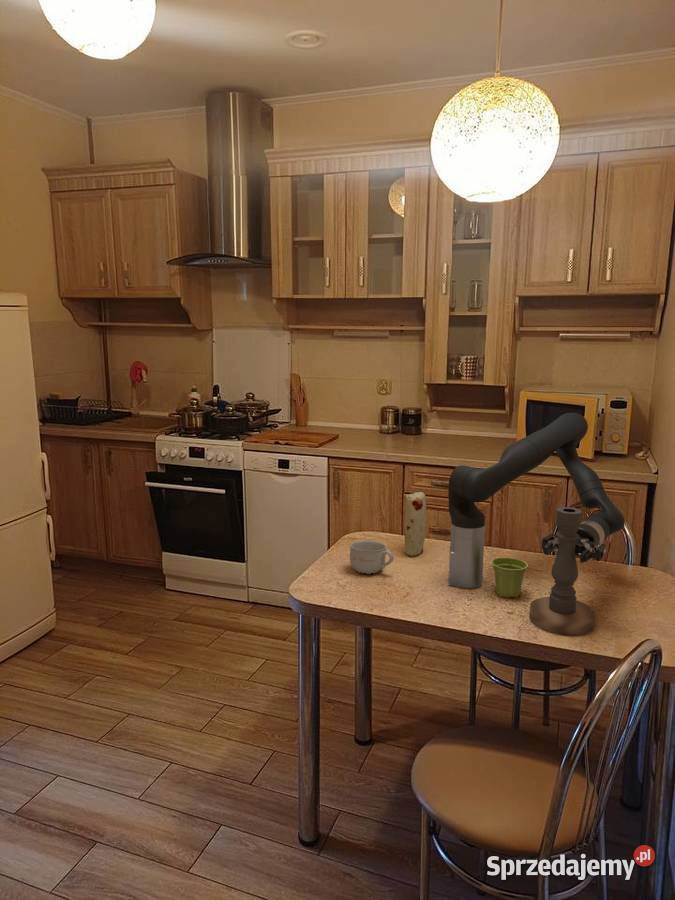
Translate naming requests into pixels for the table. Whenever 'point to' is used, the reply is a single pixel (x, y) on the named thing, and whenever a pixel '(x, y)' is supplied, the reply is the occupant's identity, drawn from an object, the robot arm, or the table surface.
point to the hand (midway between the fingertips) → (563, 554)
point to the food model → (415, 523)
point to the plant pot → (508, 575)
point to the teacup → (369, 556)
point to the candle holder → (565, 562)
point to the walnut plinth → (562, 618)
